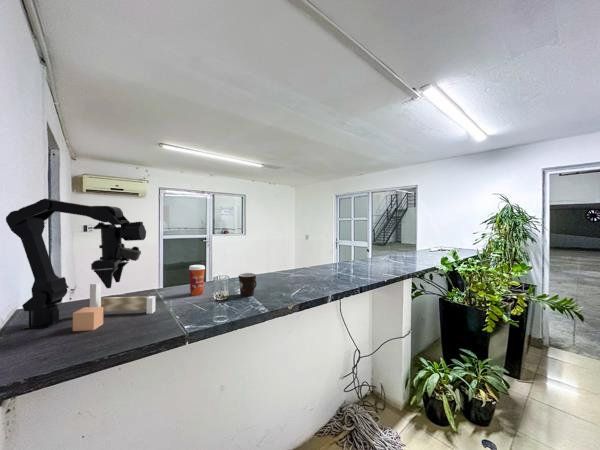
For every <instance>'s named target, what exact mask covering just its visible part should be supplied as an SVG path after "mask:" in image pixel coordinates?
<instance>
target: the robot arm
mask: <svg viewBox="0 0 600 450" xmlns="http://www.w3.org/2000/svg"><path fill="white" fill-rule="evenodd" d="M57 212H58V213H63V214H69V215H77V216H83V217H87V218H90V219H92V220H95V221H99V222H98V223H97V224H96V225H95V226H93V227H92V229H93V230H100V238H101V239H100V241H101V244H100V245H99V246H98V247H99V249H101V256H100V257H99V259H97V260H94V261H92V263H91V266H90V268H91V271H93V272H94V273H95V275H97V276H98V278H99V280H101V283H103V285H104V286H105V288H106V289H111V288H112V285H113V279H114V281H115V283H120V282H121V277H122V274H123V270H124V267H125V266H127V264H129V261H134V262H136V261H138V260H139V259H140V255H141V254H142V251H141V250H140V247H138V246H133V247H131V248H130V247H125V244H124V243H123V242H122V239H123V240H124V241H125V242H129V241H130V242H132V241H145V239H146V237H147V229H146V228H145V227H146V226H145V225H144V221H134V222H132V221H131V222H130V220H128V218H127V217H126V216H125V215H124V212H123V211H122V208H120V207H117V206H111V205H110V206H109V205H87V204H86V205H85V204H80V203H73V202H66V201H62V200H58V199H52V198H43V199H39V200H38V201H36V202H34V203H31V204H29V205H26V206H23V207H20V208H19V209H17V210H13V211H11V212H9V213H8V215H6V217H5V222H6V224H7V226H8V227H9V229H10V230H11V232H12V233H14V234H15V235H16V236H17V237H18V238H19V239H20V240H21V243H22V245H23V246H22V247H23V248H24V249H23V250H24V253H25V255H26V258H27V261H28V264H29V267H30V269H31V273H32V276H33V280H34V281H33V284H32V286H31V297H30V298H29V299H28V300H27V301H25V302H24V303H23V304H22V309H23V311H24V312H28V325H26V326H24V327H23V329H24V330H28V329H30V330H31V329H47V328H49V327H51V326H53V325H55V324H57V323H59V322H61V321H62V318H60V310H59V305H58V304H60V303H62V300H63V298H65V296H66V295H67V294H68V289H69V288H70V287H69V285H68V284H67V281H66V280H67V278H66V277H65V276H62V277H59V276H58V275H57V274H56V273H55V270H54V267H53V265H52V262H51V261H52V260H51V259H50V255H49V253H48V249H47V246H46V243H45V241H44V237H43V233H44V229H45V228H46V227H45V226H46V224H45V221H46V220H48V219H49V218H51V217H52V215H54V214H55V213H57ZM105 223H107V224H105Z"/></svg>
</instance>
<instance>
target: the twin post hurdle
mask: <svg viewBox="0 0 600 450" xmlns="http://www.w3.org/2000/svg"><path fill="white" fill-rule="evenodd" d="M101 299H102V281H101V282H100V281H96V282H93V283H90V284H89V307H101ZM154 312H156V295H149V296H148V298H147V310H146V315H148V314H150V315H151V314H154Z"/></svg>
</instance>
